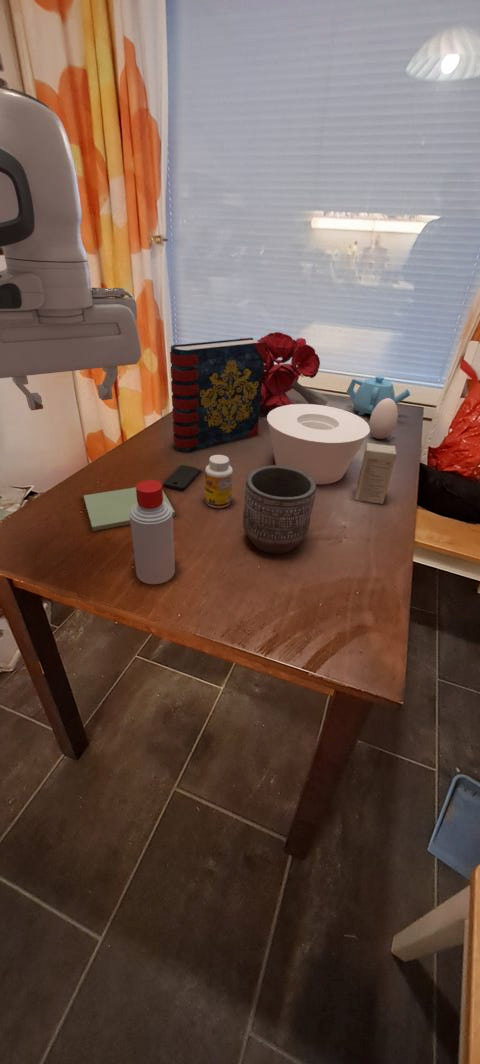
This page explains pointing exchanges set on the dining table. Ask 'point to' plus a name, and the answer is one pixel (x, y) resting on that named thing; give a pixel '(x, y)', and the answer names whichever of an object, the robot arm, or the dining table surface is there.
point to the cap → (149, 494)
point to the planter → (278, 507)
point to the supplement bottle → (218, 482)
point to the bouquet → (287, 370)
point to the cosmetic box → (375, 472)
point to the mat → (112, 508)
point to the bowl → (316, 439)
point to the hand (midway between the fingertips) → (72, 403)
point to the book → (215, 392)
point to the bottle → (153, 543)
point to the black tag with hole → (182, 477)
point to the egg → (383, 418)
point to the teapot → (373, 393)
